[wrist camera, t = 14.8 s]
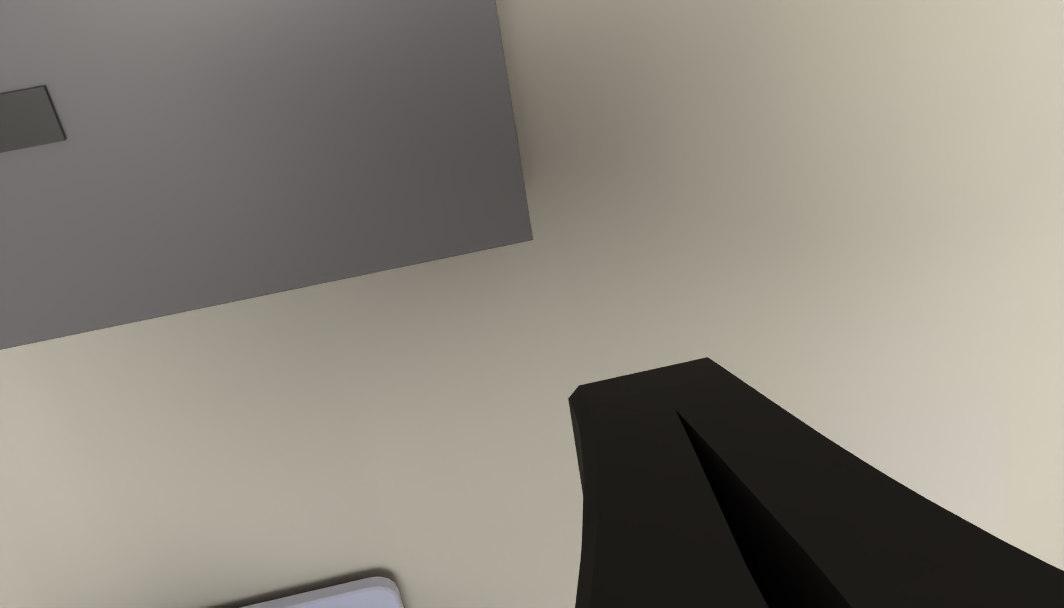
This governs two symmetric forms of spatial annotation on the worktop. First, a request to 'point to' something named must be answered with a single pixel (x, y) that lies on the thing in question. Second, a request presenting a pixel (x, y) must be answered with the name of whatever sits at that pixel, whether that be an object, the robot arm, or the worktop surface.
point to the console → (241, 151)
